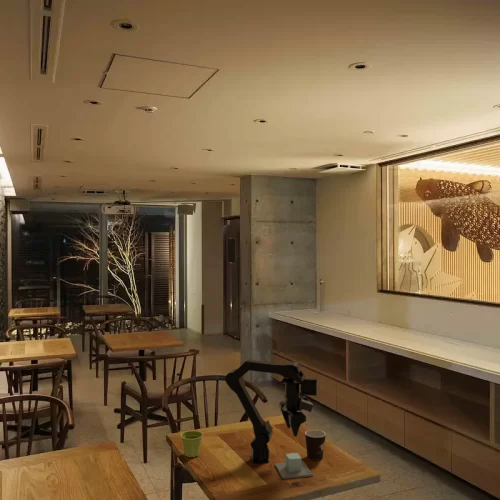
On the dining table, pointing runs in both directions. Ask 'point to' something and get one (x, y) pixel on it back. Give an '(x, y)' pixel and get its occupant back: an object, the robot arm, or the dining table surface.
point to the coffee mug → (315, 444)
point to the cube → (293, 462)
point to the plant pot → (191, 443)
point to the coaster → (286, 474)
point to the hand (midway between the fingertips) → (292, 432)
